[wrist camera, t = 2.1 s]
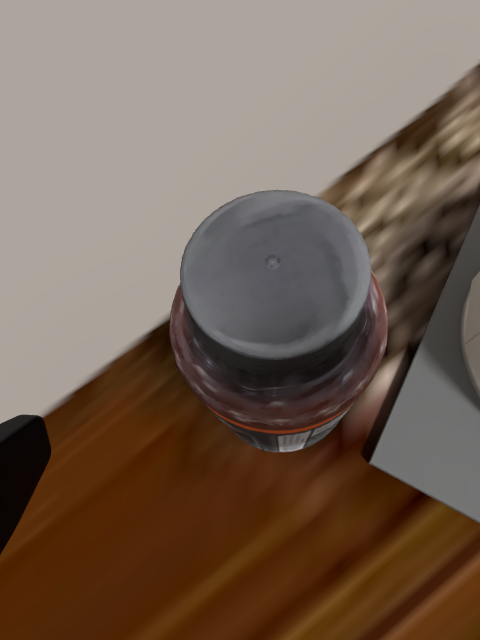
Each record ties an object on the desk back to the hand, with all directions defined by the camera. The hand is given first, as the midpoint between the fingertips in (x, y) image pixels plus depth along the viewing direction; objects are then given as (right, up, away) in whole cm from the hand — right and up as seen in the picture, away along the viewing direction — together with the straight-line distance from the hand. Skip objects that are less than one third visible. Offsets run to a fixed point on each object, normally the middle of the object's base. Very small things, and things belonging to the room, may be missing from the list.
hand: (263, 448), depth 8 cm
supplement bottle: (+1, -1, +11) cm, 11 cm away
